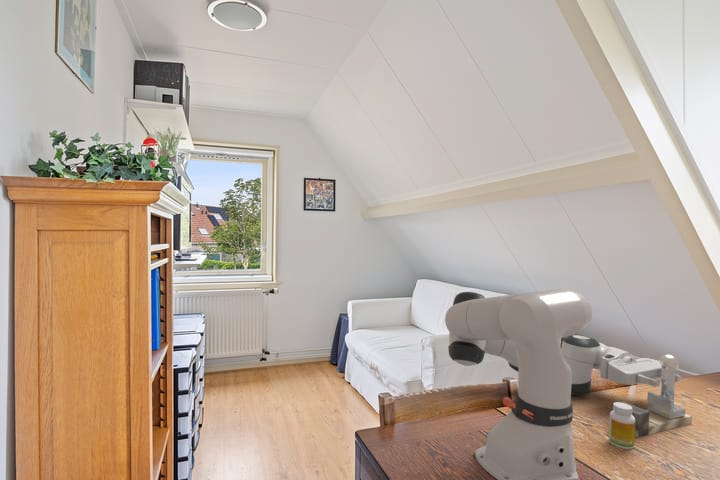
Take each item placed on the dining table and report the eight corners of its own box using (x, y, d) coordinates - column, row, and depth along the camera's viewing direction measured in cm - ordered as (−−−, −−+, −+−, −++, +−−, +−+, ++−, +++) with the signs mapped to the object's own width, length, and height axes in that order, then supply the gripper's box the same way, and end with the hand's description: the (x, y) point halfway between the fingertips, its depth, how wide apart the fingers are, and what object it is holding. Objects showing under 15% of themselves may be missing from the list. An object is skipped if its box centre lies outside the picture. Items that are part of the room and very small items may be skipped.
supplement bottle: (638, 451, 96) (640, 411, 96) (613, 448, 97) (615, 409, 97) (628, 439, 101) (629, 401, 101) (604, 436, 102) (606, 399, 102)
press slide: (669, 419, 107) (672, 359, 107) (646, 409, 113) (649, 352, 112) (685, 415, 110) (688, 356, 109) (662, 406, 115) (664, 350, 115)
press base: (638, 437, 102) (639, 414, 102) (612, 424, 109) (612, 403, 108) (691, 423, 110) (692, 402, 110) (664, 411, 117) (665, 391, 116)
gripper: (641, 369, 128) (690, 387, 115) (596, 378, 120) (644, 398, 108) (642, 350, 128) (691, 365, 115) (597, 358, 120) (645, 375, 107)
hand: (668, 381), depth 111 cm, fingers open, 8 cm apart
